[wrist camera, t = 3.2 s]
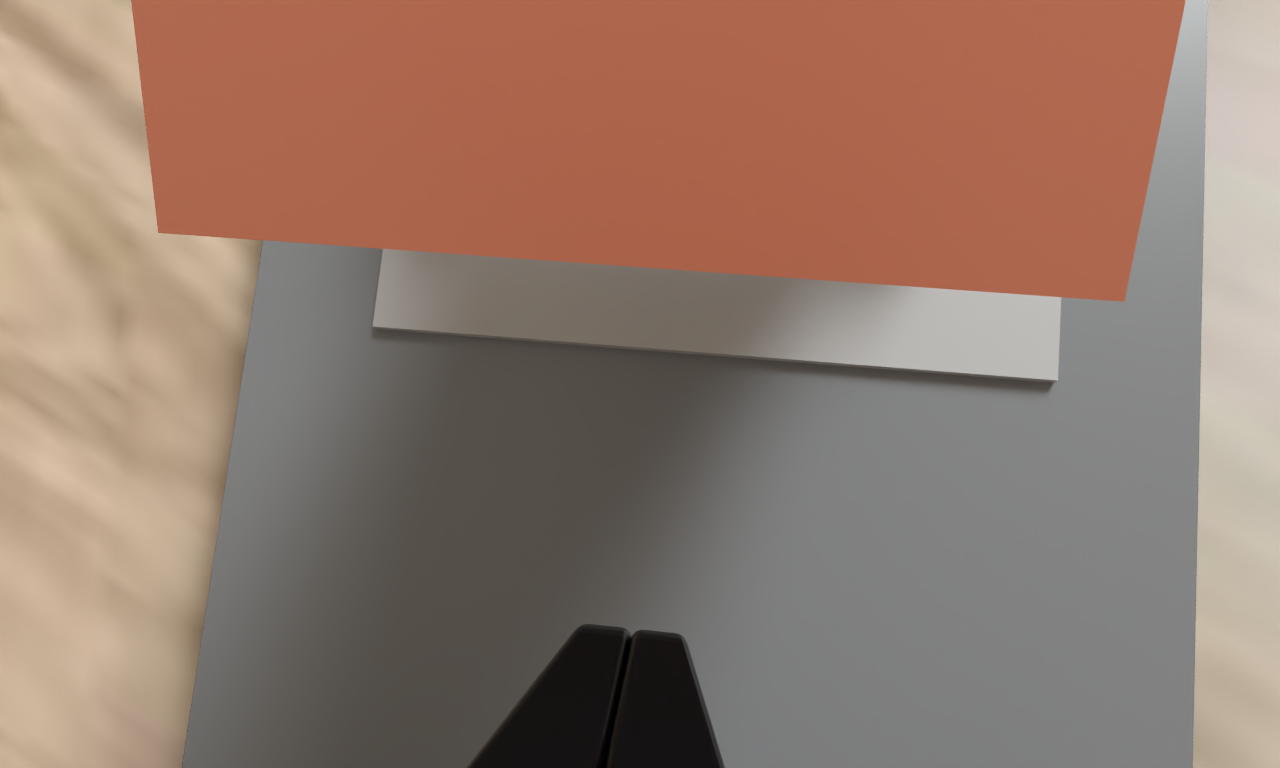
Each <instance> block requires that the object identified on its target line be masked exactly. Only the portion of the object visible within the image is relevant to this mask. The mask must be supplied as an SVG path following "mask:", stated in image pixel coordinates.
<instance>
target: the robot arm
mask: <svg viewBox="0 0 1280 768" xmlns="http://www.w3.org/2000/svg"><path fill="white" fill-rule="evenodd" d="M466 768H725V766H724V763H723V759H722V756H721V753H720V749H719V746H718V743H717V740H716V736H715V733H714V730H713V726H712V723H711V720H710V716H709V713H708V710H707V707H706V703H705V700H704V697H703V693H702V690H701V687H700V683H699V680H698V677H697V673H696V670H695V667H694V664H693V660H692V657H691V654H690V650H689V647H688V644H687V642H686V640H685V638H684V637H683V636H682V635H680V634H678V633H671V632H661V631H652V630H638V631H636V632H635V633H634V634H633V635H632V637H631V634H630V632H629V631H628V630H627V629H625V628H623V627H614V626H604V625H595V624H583V625H581V626H579V627H578V628H577V629H576V630H575V631H574V632H573V633H572V634H571V635H570V636H569V638H568V639H567V640H566V642H565V643H564V644H563V645H562V647H561V648H560V649H559V650H558V652H557V653H556V654H555V655H554V657H553V658H552V659H551V661H550V662H549V663H548V664H547V666H546V667H545V668H544V669H543V671H542V672H541V673H540V675H539V676H538V677H537V678H536V680H535V681H534V682H533V683H532V685H531V686H530V687H529V688H528V690H527V691H526V692H525V694H524V695H523V696H522V697H521V699H520V700H519V701H518V702H517V704H516V705H515V706H514V707H513V709H512V710H511V711H510V713H509V714H508V715H507V716H506V718H505V719H504V720H503V721H502V723H501V724H500V725H499V726H498V728H497V729H496V730H495V732H494V733H493V734H492V735H491V737H490V738H489V739H488V740H487V742H486V743H485V744H484V746H483V747H482V748H481V749H480V751H479V752H478V753H477V754H476V756H475V757H474V758H473V759H472V761H471V762H470V763H469V765H468V766H467V767H466Z"/></svg>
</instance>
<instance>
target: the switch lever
mask: <svg viewBox="0 0 1280 768" xmlns="http://www.w3.org/2000/svg"><path fill="white" fill-rule="evenodd" d="M131 2H132V11H133V19H134V28H135V36H136V45H137V53H138V62H139V71H140V79H141V88H142V96H143V105H144V113H145V122H146V131H147V139H148V148H149V156H150V165H151V173H152V182H153V191H154V199H155V208H156V216H157V225H158V233H170V234H184V235H198V236H212V237H225V238H239V239H253V240H267V241H281V242H295V243H309V244H323V245H337V246H351V247H365V248H379V249H393V250H407V251H421V252H435V253H449V254H463V255H477V256H491V257H505V258H519V259H533V260H547V261H561V262H575V263H589V264H603V265H617V266H631V267H645V268H659V269H673V270H687V271H701V272H715V273H729V274H743V275H757V276H771V277H785V278H799V279H813V280H827V281H841V282H855V283H869V284H883V285H897V286H910V287H924V288H938V289H952V290H966V291H980V292H994V293H1008V294H1022V295H1036V296H1050V297H1064V298H1078V299H1092V300H1106V301H1120V302H1125V297H1126V292H1127V287H1128V282H1129V277H1130V272H1131V267H1132V262H1133V257H1134V252H1135V247H1136V243H1137V238H1138V233H1139V228H1140V223H1141V218H1142V213H1143V208H1144V203H1145V198H1146V193H1147V189H1148V184H1149V179H1150V174H1151V169H1152V164H1153V159H1154V154H1155V149H1156V144H1157V139H1158V135H1159V130H1160V125H1161V120H1162V115H1163V110H1164V105H1165V100H1166V95H1167V90H1168V85H1169V80H1170V76H1171V71H1172V66H1173V61H1174V56H1175V51H1176V46H1177V41H1178V36H1179V31H1180V26H1181V22H1182V17H1183V12H1184V7H1185V2H1186V0H131Z"/></svg>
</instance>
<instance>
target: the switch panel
mask: <svg viewBox="0 0 1280 768" xmlns="http://www.w3.org/2000/svg"><path fill="white" fill-rule="evenodd" d="M1207 17H1208V0H1186V2H1185V7H1184V12H1183V17H1182V22H1181V26H1180V31H1179V36H1178V41H1177V46H1176V51H1175V56H1174V61H1173V66H1172V71H1171V76H1170V80H1169V85H1168V90H1167V95H1166V100H1165V105H1164V110H1163V115H1162V120H1161V125H1160V130H1159V135H1158V139H1157V144H1156V149H1155V154H1154V159H1153V164H1152V169H1151V174H1150V179H1149V184H1148V189H1147V193H1146V198H1145V203H1144V208H1143V213H1142V218H1141V223H1140V228H1139V233H1138V238H1137V243H1136V247H1135V252H1134V257H1133V262H1132V267H1131V272H1130V277H1129V282H1128V287H1127V292H1126V297H1125V302H1120V301H1106V300H1092V299H1078V298H1064V297H1050V296H1036V295H1022V294H1008V293H994V292H980V291H966V290H952V289H938V288H924V287H910V286H897V285H883V284H869V283H855V282H841V281H827V280H813V279H799V278H785V277H771V276H757V275H743V274H729V273H715V272H701V271H687V270H673V269H659V268H645V267H631V266H617V265H603V264H589V263H575V262H561V261H547V260H533V259H519V258H505V257H491V256H477V255H463V254H449V253H435V252H421V251H407V250H393V249H379V248H365V247H351V246H337V245H323V244H309V243H295V242H281V241H267V240H263V244H262V251H261V257H260V264H259V270H258V277H257V283H256V289H255V296H254V302H253V309H252V315H251V322H250V328H249V335H248V341H247V348H246V354H245V361H244V367H243V374H242V380H241V387H240V393H239V400H238V406H237V413H236V419H235V426H234V432H233V439H232V445H231V451H230V458H229V464H228V471H227V477H226V484H225V490H224V497H223V503H222V510H221V516H220V523H219V529H218V536H217V542H216V549H215V555H214V562H213V568H212V575H211V581H210V588H209V594H208V600H207V607H206V613H205V620H204V626H203V633H202V639H201V646H200V652H199V659H198V665H197V672H196V678H195V685H194V691H193V698H192V704H191V711H190V717H189V724H188V730H187V737H186V743H185V750H184V756H183V762H182V768H466V767H467V766H468V765H469V763H470V762H471V761H472V759H473V758H474V757H475V756H476V754H477V753H478V752H479V751H480V749H481V748H482V747H483V746H484V744H485V743H486V742H487V740H488V739H489V738H490V737H491V735H492V734H493V733H494V732H495V730H496V729H497V728H498V726H499V725H500V724H501V723H502V721H503V720H504V719H505V718H506V716H507V715H508V714H509V713H510V711H511V710H512V709H513V707H514V706H515V705H516V704H517V702H518V701H519V700H520V699H521V697H522V696H523V695H524V694H525V692H526V691H527V690H528V688H529V687H530V686H531V685H532V683H533V682H534V681H535V680H536V678H537V677H538V676H539V675H540V673H541V672H542V671H543V669H544V668H545V667H546V666H547V664H548V663H549V662H550V661H551V659H552V658H553V657H554V655H555V654H556V653H557V652H558V650H559V649H560V648H561V647H562V645H563V644H564V643H565V642H566V640H567V639H568V638H569V636H570V635H571V634H572V633H573V632H574V631H575V630H576V629H577V628H578V627H579V626H581V625H583V624H595V625H604V626H614V627H623V628H625V629H627V630H628V631H629V632H630V634H631V637H632V635H633V634H634V633H635V632H636V631H638V630H652V631H661V632H671V633H678V634H680V635H682V636H683V637H684V638H685V640H686V642H687V644H688V647H689V650H690V654H691V657H692V660H693V664H694V667H695V670H696V673H697V677H698V680H699V683H700V687H701V690H702V693H703V697H704V700H705V703H706V707H707V710H708V713H709V716H710V720H711V723H712V726H713V730H714V733H715V736H716V740H717V743H718V746H719V749H720V753H721V756H722V759H723V763H724V766H725V768H1193V722H1194V671H1195V621H1196V571H1197V520H1198V470H1199V420H1200V369H1201V319H1202V269H1203V219H1204V168H1205V118H1206V68H1207Z"/></svg>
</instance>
